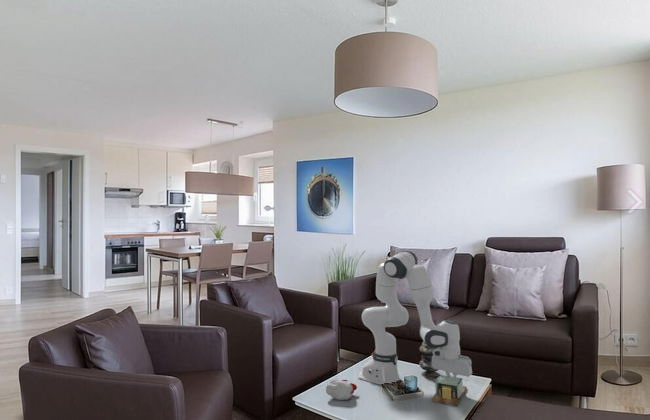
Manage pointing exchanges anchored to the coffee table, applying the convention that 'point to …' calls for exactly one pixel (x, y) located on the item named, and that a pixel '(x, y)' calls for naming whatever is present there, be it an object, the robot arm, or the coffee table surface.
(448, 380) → the housing cover
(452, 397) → the housing base
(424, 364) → the apothecary jar
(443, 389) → the yellow cube
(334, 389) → the white red lumpy figurine
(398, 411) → the coffee table surface
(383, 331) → the robot arm
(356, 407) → the coffee table surface
